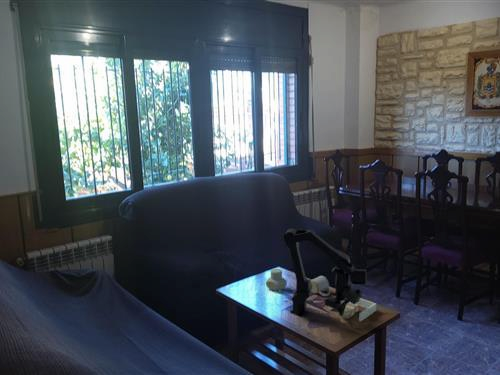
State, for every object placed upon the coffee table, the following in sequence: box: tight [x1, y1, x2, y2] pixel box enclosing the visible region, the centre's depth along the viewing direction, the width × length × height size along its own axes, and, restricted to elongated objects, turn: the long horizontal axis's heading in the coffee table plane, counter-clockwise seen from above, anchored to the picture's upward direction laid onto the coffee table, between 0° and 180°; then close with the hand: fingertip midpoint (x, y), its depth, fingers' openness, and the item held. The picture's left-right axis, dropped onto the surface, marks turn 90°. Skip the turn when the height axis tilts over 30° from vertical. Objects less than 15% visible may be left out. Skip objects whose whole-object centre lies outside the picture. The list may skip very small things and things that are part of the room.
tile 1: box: [337, 306, 355, 320], centre depth 194 cm, size 5×5×3 cm
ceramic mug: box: [310, 275, 331, 297], centre depth 218 cm, size 11×8×8 cm
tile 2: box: [346, 302, 359, 314], centre depth 198 cm, size 5×5×3 cm
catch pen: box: [328, 297, 377, 322], centre depth 199 cm, size 14×17×4 cm
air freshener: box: [265, 268, 288, 292], centre depth 223 cm, size 11×8×10 cm
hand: (341, 315), depth 192 cm, fingers closed
